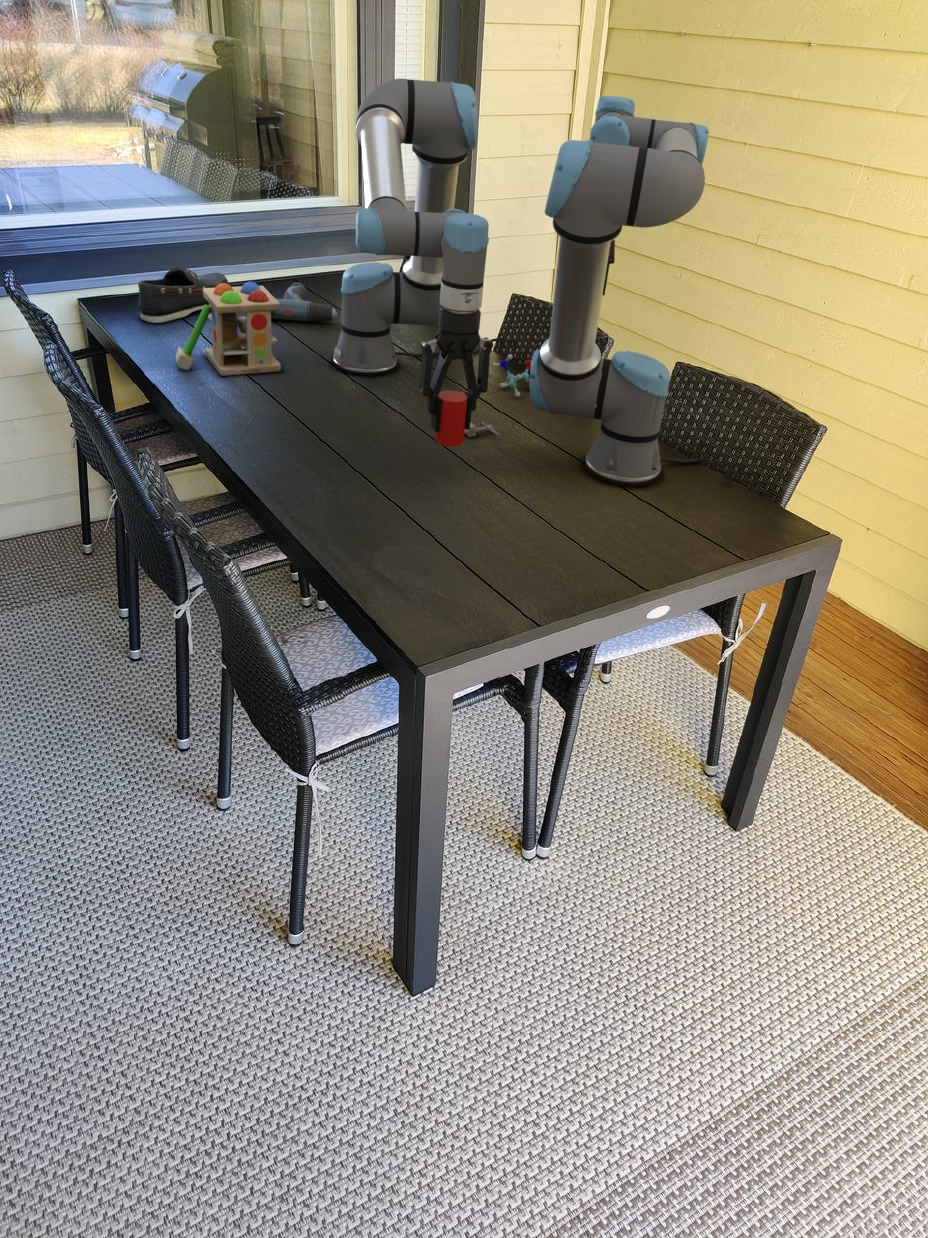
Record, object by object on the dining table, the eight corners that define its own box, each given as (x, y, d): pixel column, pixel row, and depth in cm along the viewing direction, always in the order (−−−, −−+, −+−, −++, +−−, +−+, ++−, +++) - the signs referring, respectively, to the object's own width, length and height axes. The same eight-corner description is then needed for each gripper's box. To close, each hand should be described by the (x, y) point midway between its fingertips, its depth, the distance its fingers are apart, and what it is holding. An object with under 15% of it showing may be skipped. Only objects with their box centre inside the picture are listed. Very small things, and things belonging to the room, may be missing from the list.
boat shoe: (248, 301, 272) (246, 262, 267) (158, 325, 248) (153, 283, 243) (214, 293, 278) (211, 255, 272) (123, 315, 254) (117, 274, 248)
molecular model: (537, 389, 224) (523, 346, 222) (499, 403, 227) (485, 361, 226) (549, 388, 234) (536, 347, 233) (513, 401, 238) (500, 361, 237)
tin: (438, 432, 193) (441, 388, 187) (466, 437, 192) (470, 392, 187) (432, 444, 188) (435, 399, 183) (460, 448, 188) (464, 403, 182)
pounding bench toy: (183, 379, 220) (176, 299, 210) (169, 357, 231) (162, 280, 221) (282, 371, 230) (280, 294, 220) (264, 350, 240) (262, 276, 230)
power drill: (344, 304, 276) (335, 327, 259) (277, 298, 275) (264, 321, 258) (344, 285, 273) (335, 306, 256) (277, 279, 272) (264, 300, 255)
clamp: (427, 409, 212) (467, 404, 217) (426, 419, 213) (466, 413, 218) (461, 437, 202) (502, 430, 206) (460, 447, 203) (501, 440, 208)
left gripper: (417, 316, 169) (410, 439, 183) (516, 312, 175) (502, 432, 189) (404, 302, 175) (398, 422, 188) (500, 299, 181) (487, 416, 194)
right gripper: (571, 168, 212) (557, 268, 224) (605, 193, 192) (588, 302, 204) (604, 169, 213) (589, 269, 225) (641, 194, 193) (623, 303, 205)
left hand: (450, 427), depth 189 cm, fingers closed on tin, 5 cm apart
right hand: (588, 285), depth 214 cm, fingers open, 13 cm apart
